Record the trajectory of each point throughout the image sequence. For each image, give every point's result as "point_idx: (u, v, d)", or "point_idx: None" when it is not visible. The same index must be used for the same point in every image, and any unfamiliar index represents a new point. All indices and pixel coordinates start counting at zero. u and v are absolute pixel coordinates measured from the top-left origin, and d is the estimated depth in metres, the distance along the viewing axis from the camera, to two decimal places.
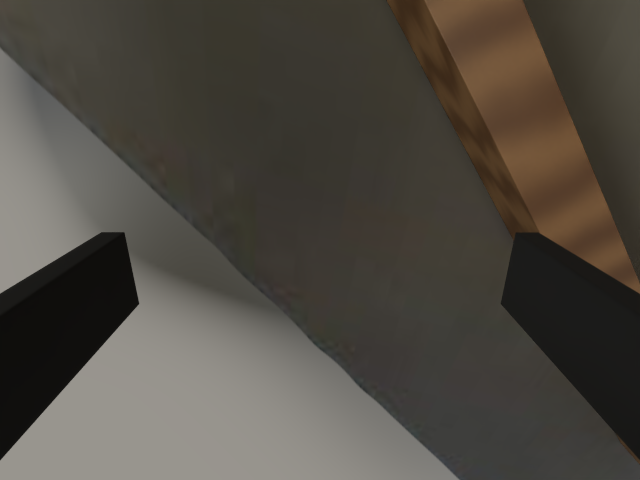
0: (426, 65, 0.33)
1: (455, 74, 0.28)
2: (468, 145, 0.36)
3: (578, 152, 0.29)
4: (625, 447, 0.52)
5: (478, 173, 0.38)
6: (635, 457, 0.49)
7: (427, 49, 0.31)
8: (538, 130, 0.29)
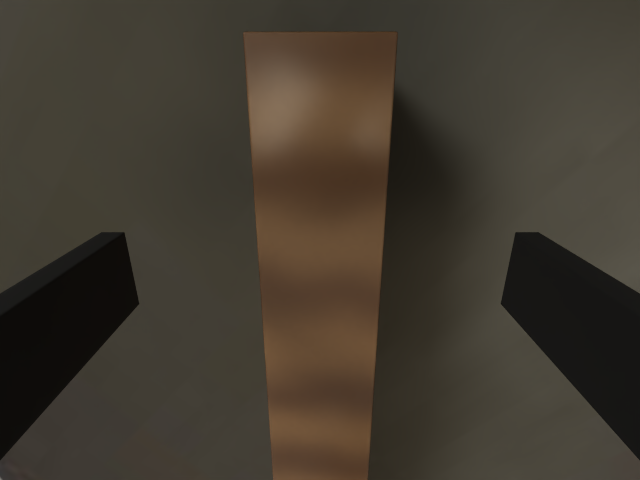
0: None
1: None
2: None
3: None
4: None
5: None
6: None
7: None
8: None
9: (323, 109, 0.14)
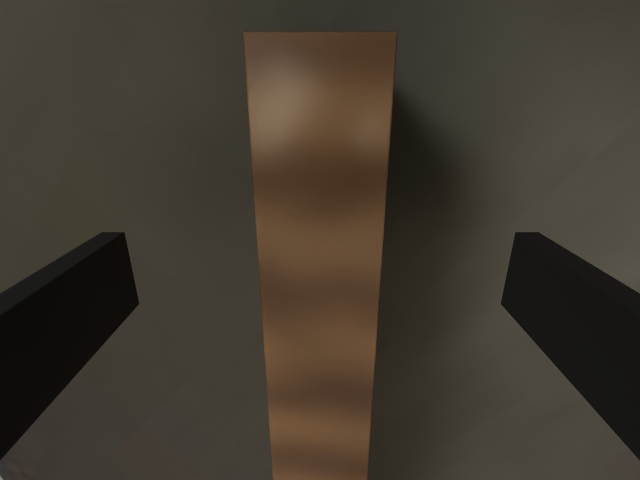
0: None
1: None
2: None
3: None
4: None
5: None
6: None
7: None
8: None
9: (323, 109, 0.14)
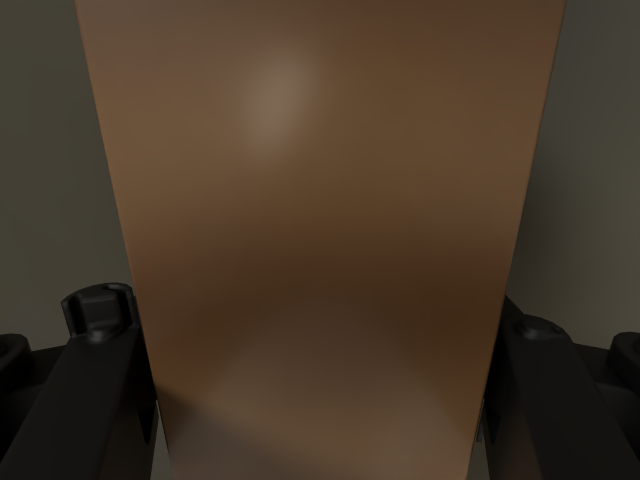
0: None
1: None
2: None
3: None
4: None
5: None
6: None
7: None
8: None
9: (329, 127, 0.05)
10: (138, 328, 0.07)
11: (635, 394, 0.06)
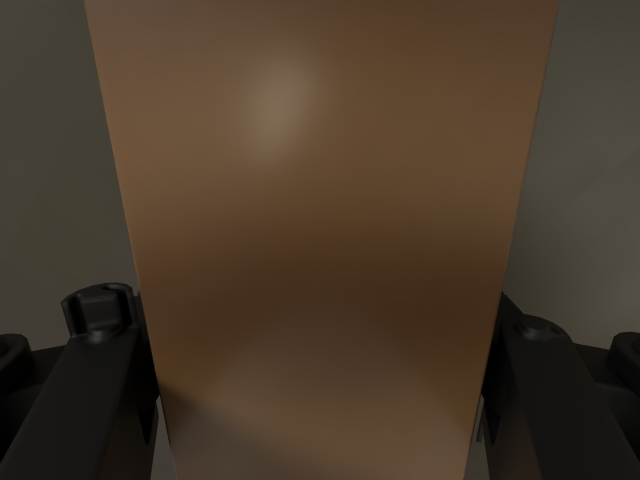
0: None
1: None
2: None
3: None
4: None
5: None
6: None
7: None
8: None
9: (329, 126, 0.05)
10: (138, 328, 0.07)
11: (636, 394, 0.06)
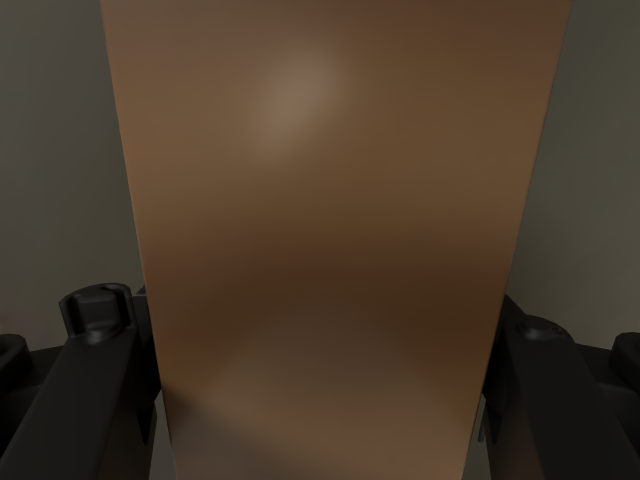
0: None
1: None
2: None
3: None
4: None
5: None
6: None
7: None
8: None
9: (340, 130, 0.05)
10: (136, 328, 0.07)
11: (637, 394, 0.06)
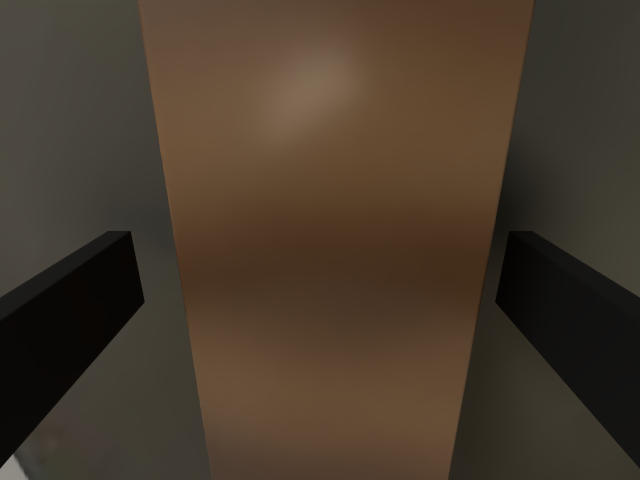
0: None
1: None
2: None
3: None
4: None
5: None
6: None
7: None
8: None
9: (342, 119, 0.06)
10: None
11: None
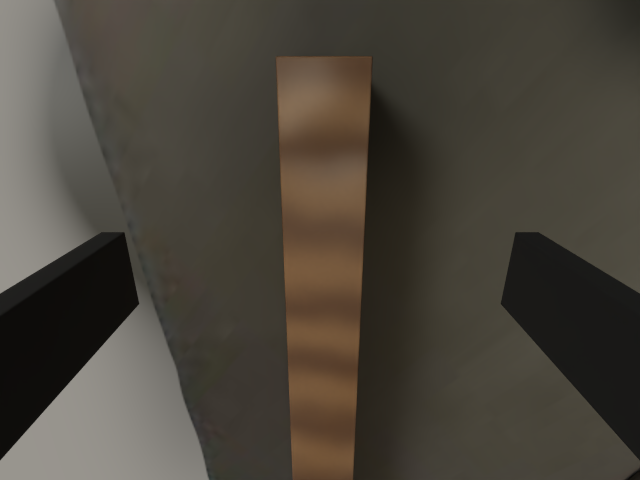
0: None
1: None
2: None
3: (348, 467, 0.34)
4: None
5: None
6: None
7: None
8: (326, 440, 0.33)
9: (325, 104, 0.22)
10: None
11: None
